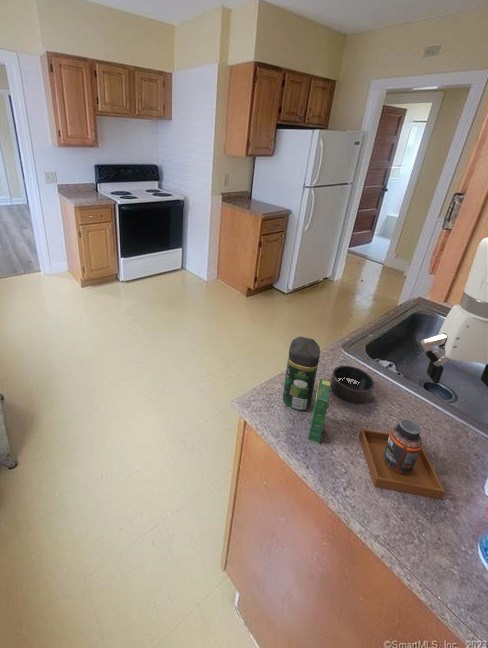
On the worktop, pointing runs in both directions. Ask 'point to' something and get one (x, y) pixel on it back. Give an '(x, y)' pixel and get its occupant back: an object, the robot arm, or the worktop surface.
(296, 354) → the coffee jar
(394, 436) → the supplement bottle
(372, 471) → the tray
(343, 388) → the bowl
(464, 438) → the worktop surface
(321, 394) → the coffee box
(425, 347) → the robot arm
